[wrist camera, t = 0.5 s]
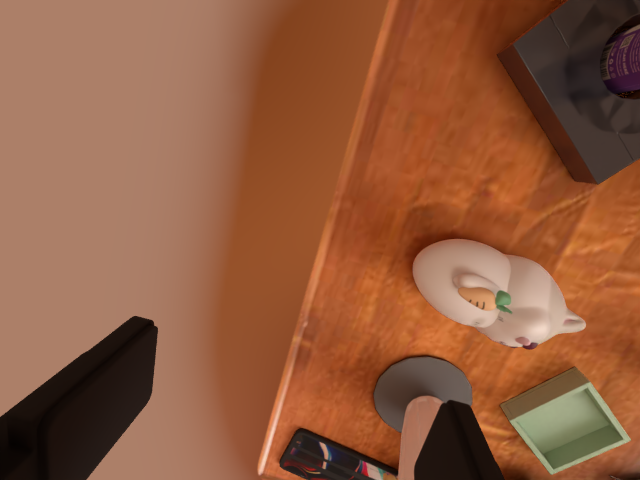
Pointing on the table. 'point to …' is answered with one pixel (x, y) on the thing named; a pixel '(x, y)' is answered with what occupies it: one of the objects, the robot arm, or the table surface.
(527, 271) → the cat figurine
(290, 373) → the table surface
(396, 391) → the cup
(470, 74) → the table surface
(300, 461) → the smartphone
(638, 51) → the container
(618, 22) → the plate
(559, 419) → the tray
